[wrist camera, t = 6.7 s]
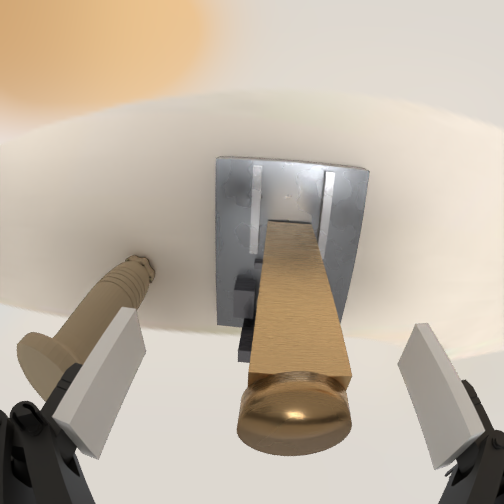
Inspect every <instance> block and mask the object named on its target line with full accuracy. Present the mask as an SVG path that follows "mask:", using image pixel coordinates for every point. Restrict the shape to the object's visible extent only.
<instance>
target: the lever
mask: <svg viewBox="0 0 504 504" xmlns="http://www.w3.org/2000/svg"><path fill="white" fill-rule="evenodd" d="M351 377H352V373H351V368H350V364H349V360H348V355H347V351H346V347H345V342H344V338H343V334H342V330H341V326H340V322H339V318H338V314H337V311H336V307H335V303H334V299H333V295H332V292H331V288H330V285H329V281H328V277H327V274H326V270H325V267H324V264H323V260H322V257H321V253H320V250H319V247H318V243H317V240H316V237H315V234H314V230H313V227H312V224H299V223H287V222H273V221H268V224H267V232H266V240H265V248H264V256H263V265H262V273H261V281H260V288H259V296H258V304H257V312H256V320H255V327H254V335H253V342H252V350H251V357H250V365H249V372H248V388H247V389H246V390H245V392H244V393H243V395H242V398H241V405H240V412H239V418H238V425H237V434H238V436H239V438H240V439H241V440H242V441H243V442H244V443H245V444H246V445H248V446H250V447H251V448H253V449H255V450H258V451H260V452H264V453H268V454H272V455H280V456H300V455H308V454H313V453H317V452H320V451H324V450H326V449H329V448H331V447H333V446H335V445H337V444H338V443H340V442H341V441H342V440H344V438H346V436H347V435H348V434H349V433H350V430H351V427H352V422H351V417H350V410H349V404H348V398H347V393H346V390H347V387H348V385H349V382H350V380H351Z"/></svg>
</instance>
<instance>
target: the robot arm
mask: <svg viewBox="0 0 504 504" xmlns="http://www.w3.org/2000/svg"><path fill="white" fill-rule="evenodd" d="M145 353H146V349H145V345H144V341H143V337H142V333H141V328H140V324H139V320H138V315H137V310H136V309H134V308H127V307H121V309H120V310H119V312H118V313H117V314H116V316H115V317H114V319H113V320H112V322H111V323H110V325H109V326H108V328H107V329H106V330H105V332H104V333H103V335H102V336H101V338H100V339H99V341H98V342H97V344H96V346H95V347H94V349H93V350H92V352H91V353H90V355H89V356H88V358H87V359H86V361H85V363H84V364H83V365H82V364H79V363H74V364H73V365H72V366H70V367H69V368H68V369H66V371H65V372H64V374H63V375H62V377H61V380H59V382H58V383H57V385H56V387H55V388H54V390H53V391H52V393H51V394H50V396H49V398H48V399H47V401H46V403H45V404H44V406H43V408H42V409H41V411H39V409H38V408H37V407H36V406H35V405H34V404H33V403H32V402H29V401H22V402H19V403H17V404H16V405H15V406H14V407H13V408H12V410H11V412H10V418H8V417H7V415H6V414H5V413H4V412H3V411H2V410H0V504H95V502H94V500H93V497H92V495H91V492H90V490H89V488H88V485H87V483H86V481H85V478H84V475H83V473H82V470H81V468H80V465H79V462H78V459H77V456H76V454H75V450H76V448H78V449H79V450H80V451H81V452H82V453H83V454H85V455H87V456H90V457H93V458H96V459H99V457H100V455H101V453H102V450H103V447H104V445H105V443H106V440H107V438H108V436H109V433H110V431H111V428H112V426H113V424H114V421H115V419H116V417H117V414H118V412H119V410H120V408H121V405H122V403H123V401H124V398H125V396H126V394H127V392H128V390H129V387H130V385H131V383H132V381H133V379H134V376H135V374H136V372H137V370H138V367H139V366H140V364H141V361H142V359H143V357H144V355H145ZM398 366H399V369H400V371H401V374H402V377H403V379H404V381H405V384H406V387H407V389H408V392H409V395H410V397H411V400H412V403H413V406H414V408H415V411H416V414H417V417H418V420H419V423H420V425H421V428H422V431H423V435H424V438H425V440H426V444H427V447H428V450H429V453H430V457H431V460H432V464H433V467H434V470H436V469H439V468H443V467H445V466H448V465H450V463H452V462H453V461H454V460H455V459H456V460H457V464H456V465H455V466H454V467H453V468H452V469H450V470H449V471H448V472H447V473H446V474H445V476H448V475H449V474H450V473H452V474H451V476H450V477H449V478H450V479H449V481H448V483H447V486H446V488H445V490H444V493H443V495H442V497H441V499H440V501H439V503H438V504H504V433H503V432H502V431H499V430H494V428H493V427H492V425H491V422H490V420H489V418H488V416H487V414H486V412H485V410H484V408H483V406H482V404H481V402H480V400H479V398H478V397H477V394H476V392H475V390H474V388H473V387H472V386H471V385H470V384H469V383H468V382H467V381H466V380H460V378H459V376H458V374H457V372H456V370H455V369H454V367H453V365H452V363H451V361H450V360H449V358H448V356H447V354H446V352H445V351H444V349H443V347H442V346H441V344H440V342H439V341H438V339H437V337H436V336H435V334H434V332H433V331H432V329H431V327H430V326H429V324H428V323H422V324H415V326H414V329H413V331H412V333H411V336H410V338H409V340H408V343H407V345H406V347H405V349H404V351H403V353H402V356H401V358H400V360H399V362H398Z"/></svg>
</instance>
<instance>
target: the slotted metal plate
mask: <svg viewBox="0 0 504 504" xmlns="http://www.w3.org/2000/svg"><path fill="white" fill-rule="evenodd" d="M368 179H369V171H368V170H366V169H364V168H358V167H351V166H343V165H335V164H326V163H317V162H306V161H295V160H282V159H267V158H248V157H218V158H216V294H217V325H224V326H234V327H242V332H241V338H240V343H239V349H238V362H247V363H250V357H251V350H252V342H253V335H254V327H255V320H256V312H257V299H258V296H259V288H260V281H261V273H262V265H263V256H264V248H265V240H266V232H267V224H268V221H273V222H287V223H299V224H312V227H313V230H314V234H315V237H316V240H317V243H318V247H319V250H320V253H321V257H322V260H323V264H324V267H325V270H326V274H327V277H328V281H329V285H330V288H331V292H332V295H333V299H334V303H335V307H336V311H337V314H338V318H339V322H340V323H341V319H342V315H343V311H344V307H345V303H346V299H347V295H348V290H349V286H350V282H351V277H352V272H353V268H354V263H355V258H356V253H357V248H358V242H359V237H360V231H361V226H362V220H363V214H364V207H365V201H366V194H367V186H368Z"/></svg>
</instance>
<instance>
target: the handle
mask: <svg viewBox="0 0 504 504" xmlns="http://www.w3.org/2000/svg"><path fill="white" fill-rule="evenodd" d="M154 276H155V272H154V270H153V269H152V268H151V267H150V265H149V262H148V260H147V259H146V258H139V257H137V256H135V255H133V256H130V257H128V258H127V259H126V260H125V262H123V263H121V264H120V265H118V266H116V267H115V268H114V269H112V270H111V271H110V272H109V273H107V274H106V275H105V276H104V277H103V278H102V279H101V280H100V281H99V282H98V283H97V284H96V285H95V286H94V287H93V288H92V289H91V291H90V292H89V293H88V294H87V296H86V297H85V298H84V299H83V301H82V302H81V303H80V304H79V306H78V307H77V308H76V310H75V311H74V312H73V313H72V315H71V316H70V317H69V319H68V320H67V321H66V323H65V324H64V325H63V326H62V328H61V329H60V330H59V332H58V333H57V334H56V335H55V336H54V337H53V338H50V337H48V336H45V335H43V334H40V333H35V332H31V333H28V334H27V335H25V337H23V339H22V340H21V341H20V342H19V343H18V344H17V357H18V361H19V364H20V366H21V368H22V370H23V372H24V374H25V376H26V378H27V379H28V381H29V382H30V384H31V385H32V386H33V388H34V389H35V390H36V391H37V393H38V394H39V395H40V396H41V397H42V398H43V400H44V401H47V399H48V398H49V396H50V394H51V393H52V391H53V390H54V388H55V387H56V385H57V383H58V382H59V380H61V377H62V375H63V374H64V372H65V371H66V369H68V368H69V367H70V366H72V365H73V364H74V363H79V364H82V365H83V364H84V363H85V361H86V359H87V358H88V356H89V355H90V353H91V352H92V350H93V349H94V347H95V346H96V344H97V342H98V341H99V339H100V338H101V336H102V335H103V333H104V332H105V330H106V329H107V328H108V326H109V325H110V323H111V322H112V320H113V319H114V317H115V316H116V314H117V313H118V312H119V310H120V309H121V307H127V308H134V309H136V310H137V309H138V308H139V306H140V304H141V302H142V301H143V299H144V297H145V295H146V293H147V290H148V288H149V284H150V283H152V281H153V279H154Z"/></svg>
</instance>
